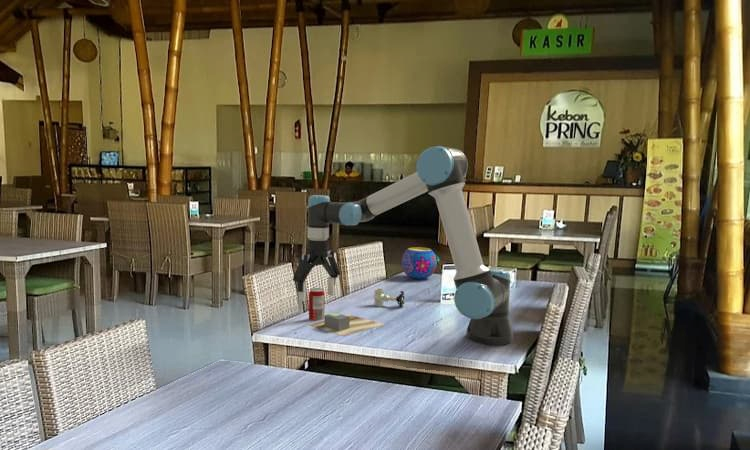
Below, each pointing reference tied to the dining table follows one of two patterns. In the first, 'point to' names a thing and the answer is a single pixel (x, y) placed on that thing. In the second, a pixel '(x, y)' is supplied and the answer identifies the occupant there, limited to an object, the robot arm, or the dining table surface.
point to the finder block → (337, 321)
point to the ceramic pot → (419, 262)
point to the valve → (387, 298)
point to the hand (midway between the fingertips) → (316, 297)
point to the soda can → (316, 304)
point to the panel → (350, 325)
